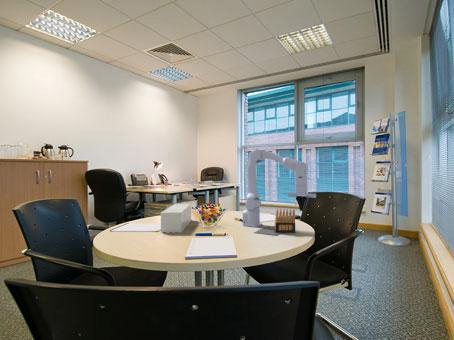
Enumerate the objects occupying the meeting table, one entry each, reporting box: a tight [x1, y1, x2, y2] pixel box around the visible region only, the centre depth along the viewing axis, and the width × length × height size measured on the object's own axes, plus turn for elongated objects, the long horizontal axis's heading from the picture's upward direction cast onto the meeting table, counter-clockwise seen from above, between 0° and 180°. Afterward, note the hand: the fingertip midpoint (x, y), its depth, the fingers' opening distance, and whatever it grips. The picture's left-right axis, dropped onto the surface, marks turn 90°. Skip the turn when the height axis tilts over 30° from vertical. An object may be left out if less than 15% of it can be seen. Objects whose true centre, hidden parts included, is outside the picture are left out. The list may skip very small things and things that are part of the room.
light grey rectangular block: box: [160, 203, 192, 234], centre depth 151 cm, size 32×11×11 cm, turn 178°
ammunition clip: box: [274, 208, 296, 234], centre depth 133 cm, size 11×2×12 cm, turn 97°
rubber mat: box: [254, 225, 281, 237], centre depth 137 cm, size 12×16×1 cm
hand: (301, 210), depth 138 cm, fingers closed
